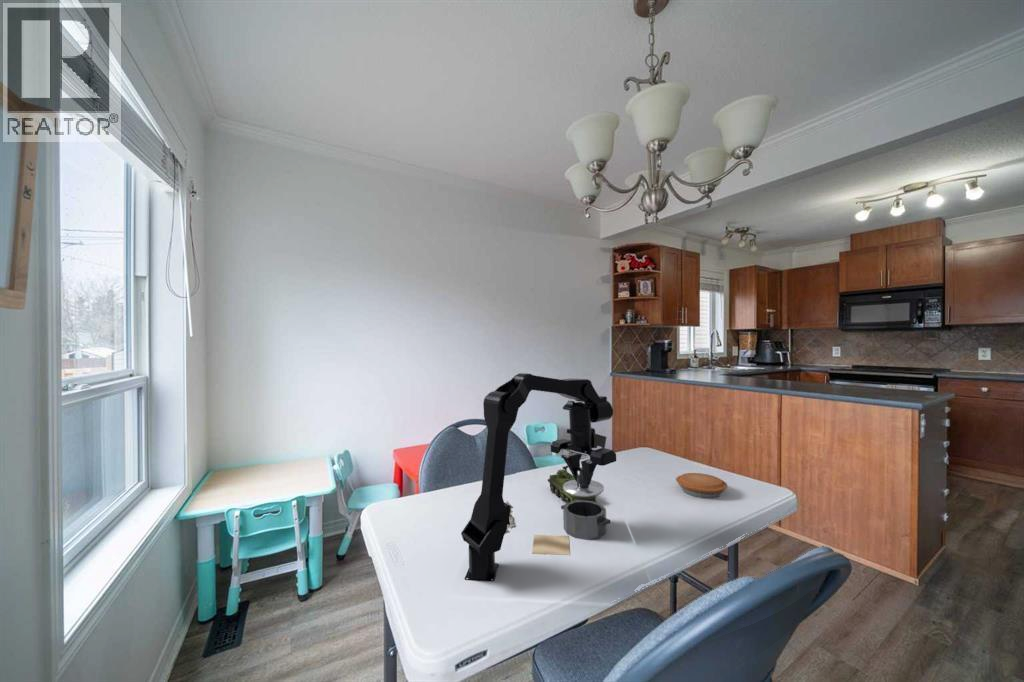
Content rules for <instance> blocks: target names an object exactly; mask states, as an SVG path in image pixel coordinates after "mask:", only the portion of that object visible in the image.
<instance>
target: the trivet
mask: <svg viewBox="0 0 1024 682" xmlns="http://www.w3.org/2000/svg"><path fill="white" fill-rule="evenodd" d="M570 548H571V547H570V535H556V534H555V535H553V534H552V535H551V534H550V535H549V534H534V535H533V543H532V549H531V550H532V551H531V555H535V554H536V555H556V556H557V555H558V556H559V555H560V556H571V549H570Z"/></svg>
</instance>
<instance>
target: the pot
mask: <svg viewBox="0 0 1024 682" xmlns="http://www.w3.org/2000/svg"><path fill="white" fill-rule="evenodd" d="M560 509H561V510H562V511H563V515H562V517H563V530H564V532H565V534H567V536H569V537H573V538H574V539H577V540H585V541H588V540H589V541H590V540H599V539H600V538H603V537H604V536H606V534H607V530H608V528H607V525H609V524H610V523H611V519H609V518H607V509H606V508H605V506H604V505H602V504H601V503H598V502H597V501H596V502H593V501H585V500H580V501H572V502H569V503H567V504H566V503H565V504H562V505H560Z"/></svg>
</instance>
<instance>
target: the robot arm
mask: <svg viewBox="0 0 1024 682" xmlns="http://www.w3.org/2000/svg"><path fill="white" fill-rule="evenodd" d="M592 383H593V382H592V381H591V380H590V379H588V378H587V379H585V378H571V377H570V378H563V379H559V378H552V377H546V376H540V375H534V374H531V373H523V372H520V373H517V374H515V375H514V376H513V377H512V378H511V379H510V380H508V381H506V382H505V383H503V384H502V385H500V386H498V387H497V388H496V389H495V390H494V391H493V390H492V391H491V392H489V393H488V394H487V395H486V396H485V397H484V399H483V418H484V422H485V424H486V428H487V437H486V442H485V443H486V445H485V454H484V462H483V463H484V464H483V474H482V482H481V483H482V484H481V492H480V495H479V496H478V497H477V500H476V501H475V503H474V504H473V505H474V506H473V509H472V513H471V518H470V519H469V521H468V522H467V524H466V525H465V527H464V528H463V529H462V531H461V537H462V540H463V542H464V543H465V542H466V544H468V569H467V572H466V574H465V576H464V580H465V581H473V582H476V581H477V582H495V580H496V576H497V573H498V569H499V566H500V564H499V563H496V552H499V551H501V549H502V545H503V542H504V537H505V535H506V531H507V524H508V525H510V522H509V516H510V514H511V512H510V511H511V510H512V509H511V508H512V507H511V506H512V505H511V504H510V505H511V506H510V505H508V504H507V503H506V502H505V500H504V495H503V493H504V484H505V482H504V481H505V474H506V473H505V471H506V462H507V453H508V452H507V451H508V444H509V443H508V442H509V433H510V431H511V429H512V428H513V426H514V424H515V423H516V420H517V416H518V413H519V409H520V408H521V407H522V405H523V404H525V403H526V402H527V399H528V397H529V394H530V392H531V391H537V392H538V391H539V392H544V393H552V394H557V395H560V396H561V397H564V398H566V399H569V400H568V401H566V403H565V404H564V405H563V407H562V410H565V411H568V413H569V414H568V416H569V428H566V434H569V436H570V437H569V438H570V439H566V438H561V439H557V440H554V441H553V440H552V442H551V444H550V452H551V453H553V454H560V452H561V451H562V454H561V457H560V458H562V459H563V460H564V462H565V463H566V466H568V468H569V471H570V474H571V475H573V476H574V478H575V480H576V482H577V472H576V469H577V468H582V469H583V474H584V479H585V483H586V485H590V482H591V480H593V475H594V472H595V470H596V467H597V466H601V467H603V466H606V465H609V464H612V463H615V462H617V453H616V452H615V450H614V449H610V448H606V441H607V436H604V435H601V434H597V433H596V429H595V427H594V428H593V427H592V423H599V422H603V421H607V420H608V421H609V420H610V419H612V417H613V415H614V409H613V406H612V404H611V403H610V401H608V397H607V396H603V395H600V396H599V394H598V393H597V391H596V388H595V387H594V386H593V384H592ZM598 447H600V448H598ZM597 448H598V449H597ZM582 456H585V459H584V460H582V461H581V458H582Z"/></svg>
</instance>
